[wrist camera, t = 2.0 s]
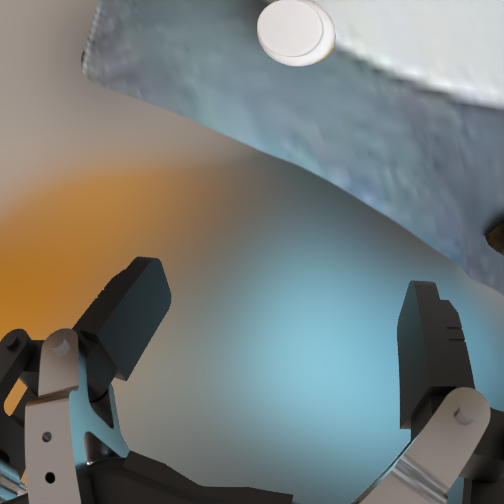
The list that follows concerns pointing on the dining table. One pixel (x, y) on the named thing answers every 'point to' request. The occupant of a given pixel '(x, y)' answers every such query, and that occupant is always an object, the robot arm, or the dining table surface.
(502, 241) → the hand tool
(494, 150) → the dining table surface
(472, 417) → the robot arm
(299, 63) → the supplement bottle
